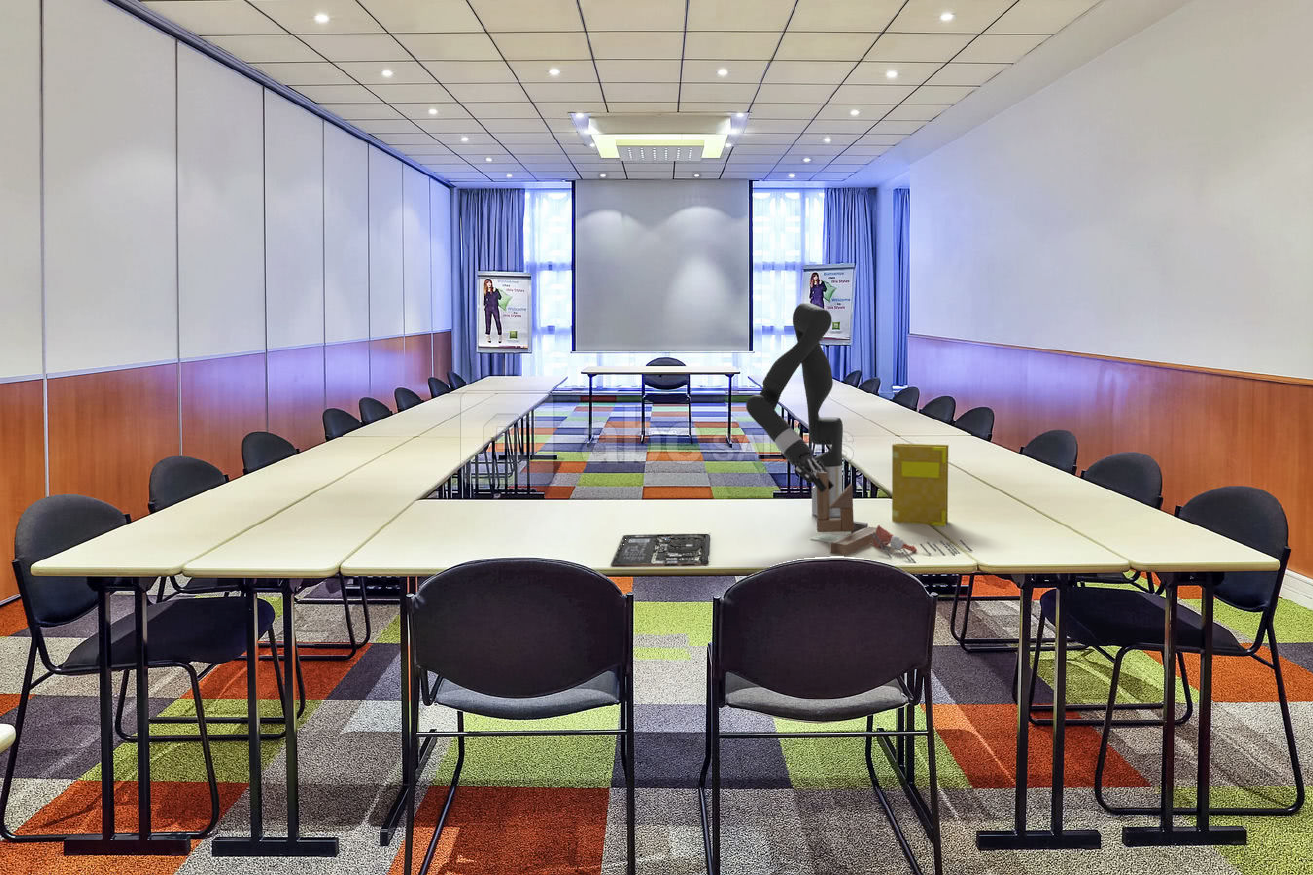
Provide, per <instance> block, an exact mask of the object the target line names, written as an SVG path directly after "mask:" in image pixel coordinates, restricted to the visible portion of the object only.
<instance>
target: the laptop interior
mask: <svg viewBox="0 0 1313 875" xmlns="http://www.w3.org/2000/svg"><path fill="white" fill-rule="evenodd" d="M709 534H710V533H657V534H654V533H653V534H652V533H651V534H623V535H622V537H621V539H620V540H619V544H618V546H617V549H616V551H615V553H614V555H613V559H612V561H611V562H610V565H611V566H613V567H666V566H667V567H669V566H678V567H681V566H682V567H684V566H686V567H687V566H694V567H697V566H698V567H699V566H701V567H703V566H706V565H708V564H709V563H710V561H708V556H709V557H710V551H711V550H710V547H711V534H710V535H709ZM657 538H659V539H657ZM625 539H626V540H625ZM665 539H666V540H665ZM623 544H624V545H623ZM696 559H698V560H696Z"/></svg>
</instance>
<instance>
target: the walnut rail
mask: <svg viewBox="0 0 1313 875" xmlns="http://www.w3.org/2000/svg"><path fill="white" fill-rule="evenodd" d="M876 529H877V526H876V527H874V526H869V523H867V522H861V521H860V522H859V521H854V531H853V532H850V533H849V534H847V535H845V537H842V538H840V539H838V540H835V541H833V542H831V543H830V542H829V546H830V547H829V548H830V550H829V551H830V554H836V555H843V556H848V555H850V554H853V553H854V552H857V551H859V550H861V549H863V548H865V547H868V546H869V545H871V544H872V545H873V543H874V538H873V537H872V536H871V535H869V534H872V535H873V536H874V537H875V535H874V533H876Z"/></svg>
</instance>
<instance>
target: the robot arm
mask: <svg viewBox="0 0 1313 875" xmlns="http://www.w3.org/2000/svg"><path fill="white" fill-rule="evenodd" d="M792 324H793V330H794V333H795V337H796V341H797V342H796V344H794V346H793V347H791V348H790V349H789V350H787V351H786V352H785V353H784V354H782V355H780V357H778V358H777V359H776V360H775V361H774V362H773V364H772V365H771V367H770V369H769V371H768V372H767V373H766V375H765V377H764V379H763V380H762V383H761V384H762V388H761V391H760V393H759V394H754V395H751V396H750V397H749V398H748V399H747V401H746V403H745V404H746V405H745V406H746V407H745V408H746V410H747V414H748V415H750V417H751V418H752V419H753V420H754V421H755V422H756V423H757V425H759V426H760V427H761V428H762V429H763V431H765V433H766V434H767V435H768V437H769V438H770V439H771V440H772V442H773V443H774V444H775V446H776V448H777V449H778V450H779V451H780V453H781V454H782V455H783V456H784V457H785V459H786V460H787V461H788V462H789V463H790V464H791V466H795V465H796V467H795V468H794V469H793V470H794V472H795V473H796V474H797V475H798V476H800V478H802V479H803V480H804V481H805V482H807V484H810V483H811V484H814V485H813V486H812V487H811V515H812V516H816V517H817V488H818V489H819V490H820V491H821V492H824V491H825V490H826V489H827V487H826V486H825V484H824V483H823V482H822V481H821V480H820V479H818V478H819V477H818V476H817V474H816V473H817V472H828V487H829V506H830V505H831V504H832V503H833V501H834V500H835V499H836V498H837V497H838V496H839V495H840V494H841V493H842V492H843V436H844V428H843V425H844V424H843V420H842V419H841V418H840V417H829V416H828V417H827V416H826V417H824V416H822V417H821V416H820V415H819V414H820V413H819V412H820V409H821V407H822V405H823V404H824V402H825V401H826V400H827V398H828V396H829V394H830V393H831V391H832V388H833V386H834V385H833V384H834V383H833V373H832V372H833V371H832V367H831V363H830V362H829V359H828V356H827V355H826V353H825V351H824V349H823V347H822V346H821V343H820V341H822V339H823V338H824V337H825V335H826V334H827V332H829V330H830V328H831V326H832V325H831V324H832V315H831V314H830V312H829V311H828V310H827V309H824V308H823V307H821V306H818V305H816V304H814V303H811V302H801V303H800V304H798V305H797V306H796V308H795V309H794V311H793V314H792ZM800 366H801V370H802V371H801V372H802V380H803V386H804V393H805V399H806V406H807V421H808V435H809V440H810V441H811V443H812V444H813V445H817V446H818V445H821V446H823V445H824V446H831V447H830V449H829V450H828V451H826V452H824V453H821V454H817V455H816V456H814V457H813V456H812V455H811V452H812V448H810V447H809V445H808V444H807V443H806V442H805V441H804V440H803V438H802V437H801V436H800V435H799V433H797V431H795V430H794V429H793V428H792V426H791V425H790V424H789V423H788V421H787V420H786V419H785V418H784V417H782V416H781V415H780V414H778V412H777V411H776V408H777V405H778V403H779V400H780V398H781V395H782V393H783V392H784V390H785V388H786V386H788V383H789V382H790V381H791V379H792V378H793V375H794V374H795V372H796V371H797V369H798V368H799V367H800ZM816 487H817V488H816ZM837 517H841V516H840V508H832V509H830V508H829V518H837Z"/></svg>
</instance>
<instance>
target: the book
mask: <svg viewBox="0 0 1313 875" xmlns="http://www.w3.org/2000/svg"><path fill="white" fill-rule="evenodd" d="M891 449H892V450H891V451H892V453H891V454H892V455H891V456H892V459H891V460H892V461H891V462H892V464H891V466H892V467H891V469H892V471H891V472H892V474H891V477H892V479H891V480H892V481H891V484H892V486H891V487H892V488H891V489H892V490H891V493H892V495H891V496H892V498H891V506H892V507H891V510H892V511H891V512H892V513H891V521H892V522H893V523H897V524H911V525H912V524H913V525H924V526H925V525H926V526H936V527H937V526H938V527H945V526H946V524H947V523H948V520H949V518H948V517H949V515H948V513H949V511H948V510H949V509H948V508H949V505H948V503H949V499H948V498H949V444H923V443H921V444H920V443H918V444H917V443H895V444H892V445H891Z"/></svg>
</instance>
